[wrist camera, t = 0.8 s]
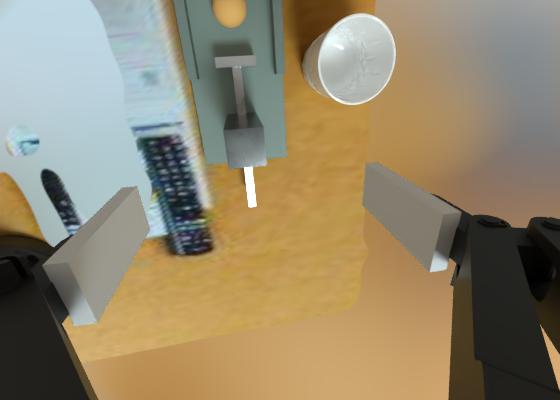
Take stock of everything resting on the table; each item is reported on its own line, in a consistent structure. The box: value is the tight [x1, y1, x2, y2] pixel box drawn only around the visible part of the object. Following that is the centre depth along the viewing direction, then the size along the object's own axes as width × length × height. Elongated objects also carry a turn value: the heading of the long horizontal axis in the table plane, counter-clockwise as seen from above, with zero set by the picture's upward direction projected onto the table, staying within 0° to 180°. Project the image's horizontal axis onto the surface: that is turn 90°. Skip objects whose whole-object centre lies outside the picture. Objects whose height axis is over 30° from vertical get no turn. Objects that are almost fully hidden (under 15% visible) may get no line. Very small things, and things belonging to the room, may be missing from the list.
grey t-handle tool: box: [215, 55, 267, 207], centre depth 30 cm, size 4×18×11 cm, turn 3°
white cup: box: [302, 13, 396, 105], centre depth 30 cm, size 8×8×10 cm
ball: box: [212, 0, 247, 28], centre depth 28 cm, size 4×4×4 cm
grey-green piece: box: [173, 0, 287, 165], centre depth 29 cm, size 11×30×6 cm, turn 3°
